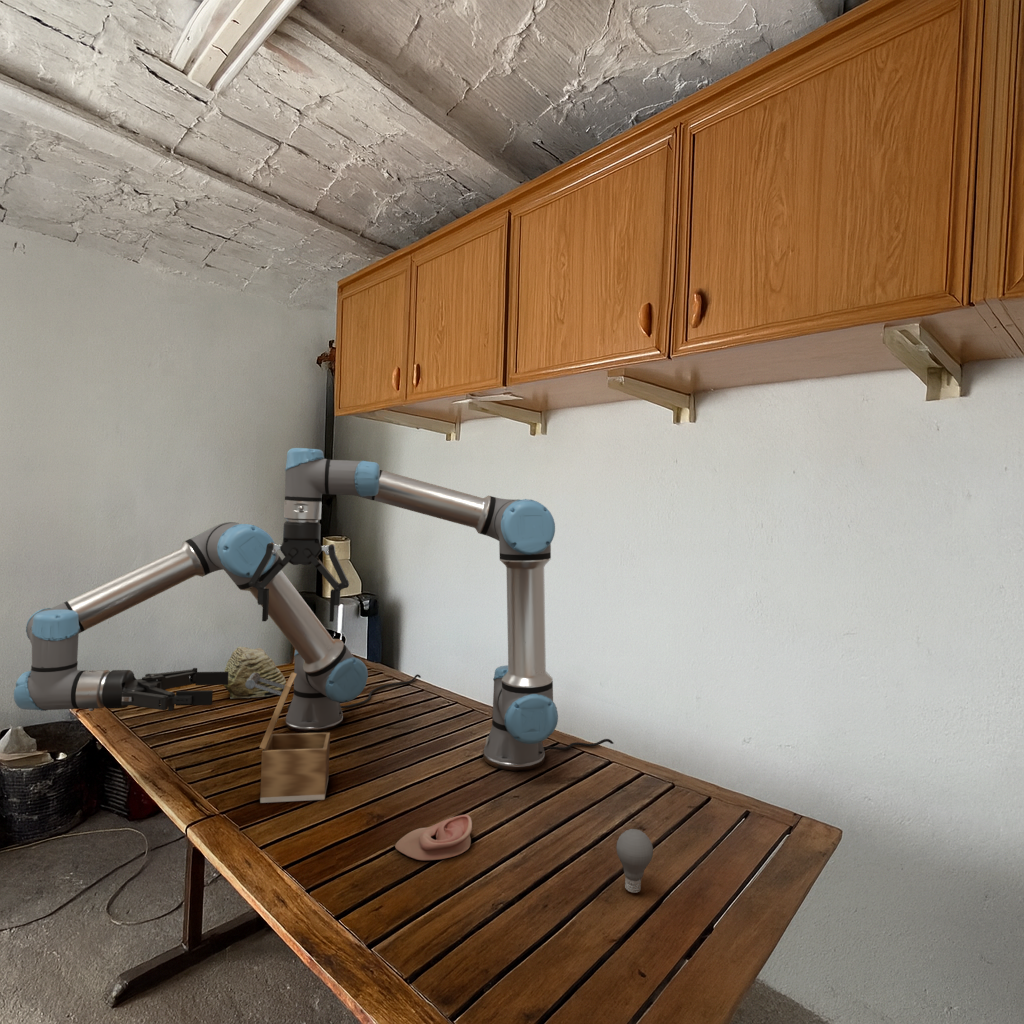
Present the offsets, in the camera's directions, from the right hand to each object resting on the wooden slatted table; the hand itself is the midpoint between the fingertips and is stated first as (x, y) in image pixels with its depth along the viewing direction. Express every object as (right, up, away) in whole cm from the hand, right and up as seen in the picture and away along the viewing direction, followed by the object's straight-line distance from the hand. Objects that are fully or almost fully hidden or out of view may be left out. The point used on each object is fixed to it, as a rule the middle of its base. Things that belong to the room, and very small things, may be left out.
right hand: (298, 620), depth 135 cm
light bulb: (+66, -40, -30) cm, 83 cm away
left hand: (-15, -14, -3) cm, 21 cm away
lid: (-4, -19, 0) cm, 19 cm away
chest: (-1, -37, +1) cm, 37 cm away
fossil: (-35, -34, +63) cm, 79 cm away
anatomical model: (+31, -39, -18) cm, 53 cm away
